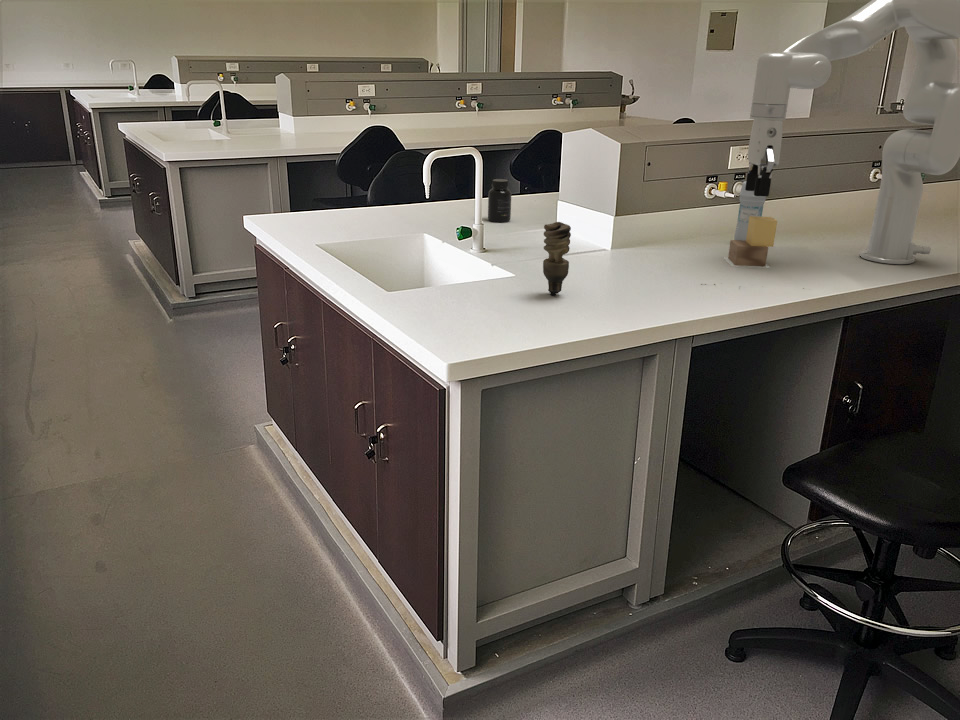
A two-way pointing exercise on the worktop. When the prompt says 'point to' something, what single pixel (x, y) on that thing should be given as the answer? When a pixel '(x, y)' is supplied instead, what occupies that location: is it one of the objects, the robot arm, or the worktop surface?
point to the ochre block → (761, 231)
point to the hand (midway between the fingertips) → (756, 192)
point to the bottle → (747, 211)
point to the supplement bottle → (499, 202)
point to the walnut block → (747, 254)
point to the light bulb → (556, 255)
